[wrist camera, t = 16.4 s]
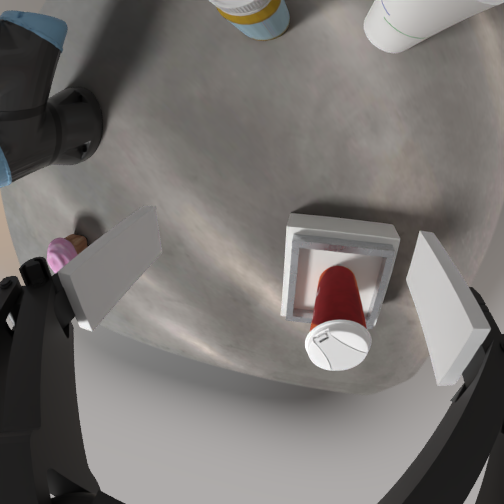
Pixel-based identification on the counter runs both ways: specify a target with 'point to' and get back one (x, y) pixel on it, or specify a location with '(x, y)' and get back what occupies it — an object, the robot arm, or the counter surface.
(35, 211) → the counter surface
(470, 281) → the counter surface
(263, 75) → the counter surface
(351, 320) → the paper cup
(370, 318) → the square tray
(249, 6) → the bottle
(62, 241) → the cupcake
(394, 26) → the cylindrical container
